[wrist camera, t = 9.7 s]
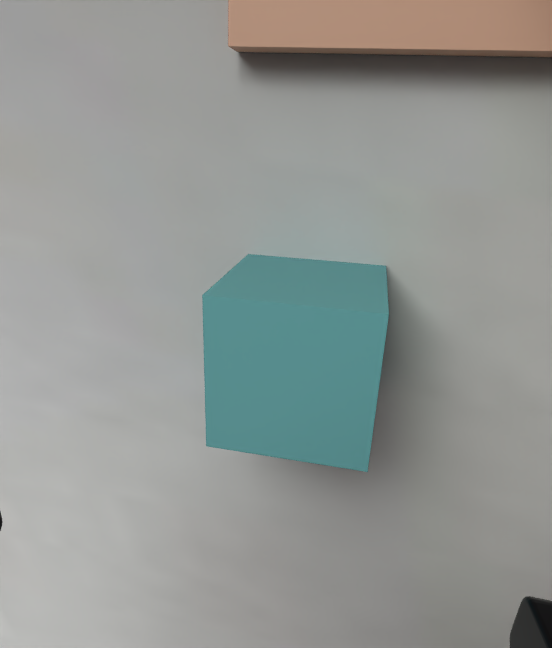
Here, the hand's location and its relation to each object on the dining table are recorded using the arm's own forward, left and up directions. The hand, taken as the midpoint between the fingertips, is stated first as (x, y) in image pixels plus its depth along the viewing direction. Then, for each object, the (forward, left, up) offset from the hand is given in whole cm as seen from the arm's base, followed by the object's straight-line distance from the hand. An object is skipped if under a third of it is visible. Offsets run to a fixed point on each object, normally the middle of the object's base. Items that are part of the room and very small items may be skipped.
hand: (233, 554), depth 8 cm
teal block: (0, 0, -11) cm, 11 cm away
